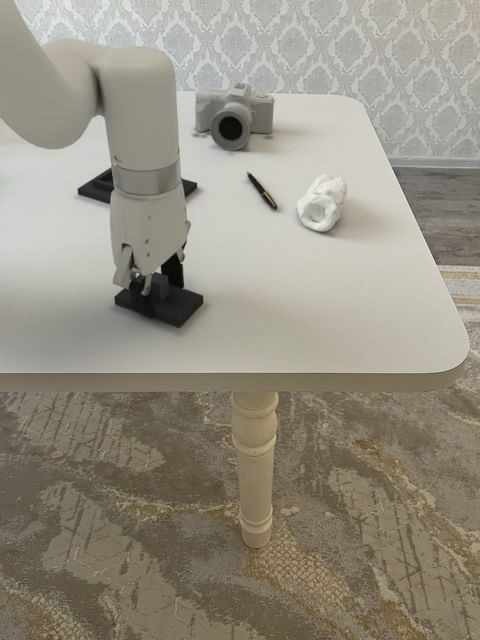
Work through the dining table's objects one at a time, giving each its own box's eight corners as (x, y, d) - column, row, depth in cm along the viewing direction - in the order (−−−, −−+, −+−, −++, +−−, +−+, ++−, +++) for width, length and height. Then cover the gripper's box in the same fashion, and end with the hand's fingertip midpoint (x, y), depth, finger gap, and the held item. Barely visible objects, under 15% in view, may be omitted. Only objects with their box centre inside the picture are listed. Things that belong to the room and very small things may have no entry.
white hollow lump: (317, 194, 103) (351, 161, 97) (336, 251, 98) (373, 220, 92) (280, 181, 97) (313, 146, 92) (298, 240, 93) (334, 208, 87)
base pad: (78, 194, 99) (75, 181, 97) (121, 166, 107) (119, 154, 105) (158, 219, 94) (157, 206, 93) (197, 188, 102) (197, 176, 101)
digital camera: (183, 160, 118) (168, 110, 111) (209, 131, 127) (197, 83, 121) (260, 157, 112) (250, 104, 105) (282, 126, 121) (274, 76, 115)
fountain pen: (243, 174, 106) (243, 167, 105) (249, 174, 107) (249, 166, 106) (273, 213, 97) (273, 205, 96) (279, 212, 97) (280, 204, 96)
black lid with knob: (114, 304, 78) (110, 278, 75) (141, 280, 82) (138, 255, 79) (179, 328, 75) (177, 302, 72) (203, 302, 79) (202, 276, 76)
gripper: (161, 137, 73) (170, 259, 85) (68, 196, 61) (95, 328, 73) (214, 150, 70) (216, 274, 83) (128, 214, 59) (145, 347, 71)
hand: (159, 298), depth 78 cm, fingers closed on black lid with knob, 6 cm apart
